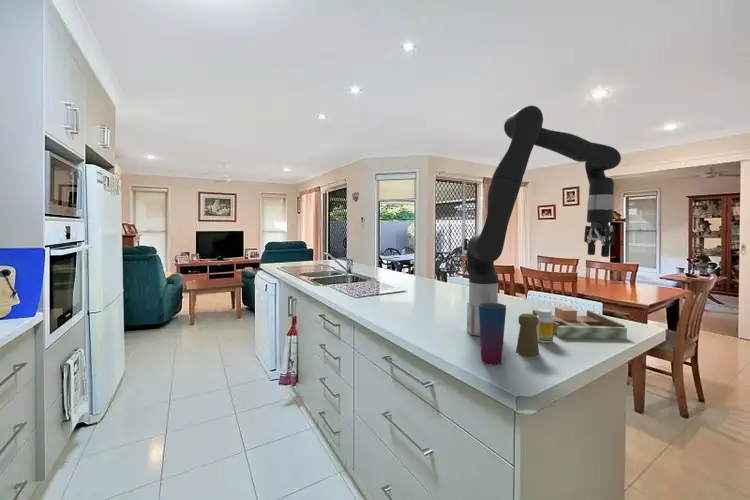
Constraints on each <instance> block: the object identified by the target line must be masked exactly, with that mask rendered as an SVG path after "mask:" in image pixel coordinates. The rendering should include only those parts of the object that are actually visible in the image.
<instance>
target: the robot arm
mask: <svg viewBox="0 0 750 500" xmlns="http://www.w3.org/2000/svg"><path fill="white" fill-rule="evenodd" d="M505 119H506V120H505V121H504V123H503V124H504V125H503V131H504V133H505V135H506V136H507V137H508V138H509V139H510V140H511V142H510V144H509V146H508V148H507V151H506V152H505V154H504V155H503V157H502V159H501V160H500V162H499V163H498V165H497V167H496V168H495V170H494V173H493V175H492V178H491V180H490V184H489V186H488V190H487V197H486V198H487V200H486V202H487V205H486V206H487V207H486V210H487V213H486V219H485V221H484V225H483V227H482V230H481V233H477V234H475V235H473V236H471V237H470V239H469V240H468V242H467V248H466V267H467V268H466V269H467V271H466V272H467V274H468V302H467V305H466V331H467V332H468V333H469V335H471V336H475V337H476V336H477V337H480V320H479V304H480V303H499V301H498V299H499V297H498V296H499V275H498V272H497V271H496V269H495V266H494V265H495V264H494V263H495V261H497V260H498V259H499V258H500V256H501V255H502V253H503V250H504V245H505V241H506V235H507V231H508V226H509V223H510V219H511V217H512V214H513V211H514V207H515V205H516V204H515V203H516V201H517V198H518V195H519V193H520V188H521V186H522V182H523V178H524V176H525V172H526V169H527V166H528V163H529V159H530V156H531V155H532V154H531V153H532V151H533V148H534V146H536V147H540V148H542V149H546V150H549V151H552V152H554V153H557V154H559V155H561V156H564V157H566V158H568V159H571V160H573V161H576V162H578V163H583V162H585V163H584V168H585V173H586V177H587V181H588V185H589V186H588V199H587V209H586V222H587V223H589V224H590V225H585V226H584V238H583V239H584V240H583V241H584V243H586V245H587V255H588V256H595V255H596V243H597V241H600V243H601V251H600V252H601V253H600V256H601V258H602V257H603V258H609V257H610V248H611V246H612V245H615V243H616V226H615V225H609V223H611V224H612V223H613V221H614V205H615V203H614V202H615V201H614V189H615V188H614V185H615V181H614V179H613V178H612V177H609V176H606V174H605V171H609V170H612V169H615V168H616V167H618V166H619V165H620V163H621V161H622V155H621V154H620V153H621V152H619V150H618V149H616V148H615V147H613V146H610V145H607V144H602V143H597V142H593V141H590V140H587V139H585V138H582V137H581V136H578V135H575V134H572V133H570V132H569V133H568V132H563V131H558V130H552V129H547V128H545V127H543V123H544V115H543V112H542V110H541V109H540V108H539V107H538V106H536V105H528V106H524V107H522V108H519V109H518V110H517V111H515V112H513V113H512V114H510V115H509V116H508V117H507V118H505Z"/></svg>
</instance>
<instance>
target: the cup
mask: <svg viewBox="0 0 750 500" xmlns="http://www.w3.org/2000/svg"><path fill="white" fill-rule="evenodd" d="M506 313H507V305H506V304H503V303H500V302H498V303H480V304H479V320H480V336H479V338H480V357H481V358H480V360H482V361H483V362H485V363H484V364H486V363H488V364H487V365H489V364H499V365H500V363H501V364H502V358H503V349H504V348H503V346H504V338H505V336H504V335H505V326H506V325H505V324H506V315H507V314H506ZM482 361H481V362H482ZM483 362H482V363H483Z"/></svg>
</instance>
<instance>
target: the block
mask: <svg viewBox="0 0 750 500" xmlns="http://www.w3.org/2000/svg"><path fill="white" fill-rule="evenodd" d="M554 316H556V317H558V318H559V319H561V320H577V316H578V310H576V309H574V308H572V307H570V306H554Z"/></svg>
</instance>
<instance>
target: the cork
mask: <svg viewBox="0 0 750 500" xmlns="http://www.w3.org/2000/svg"><path fill="white" fill-rule="evenodd" d="M538 323H539V320H538V317H537V316H536V315H533V313H521V314H519V316H518V324H519V331H518V335H517V336H518V337H517V343H516V350H515V353H517V354H518V355H520V356H523V357H531V358H532V357H533V358H534V357H538V356H540V350H539V342H538V338H537V330H536V326H537V325H538Z"/></svg>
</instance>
